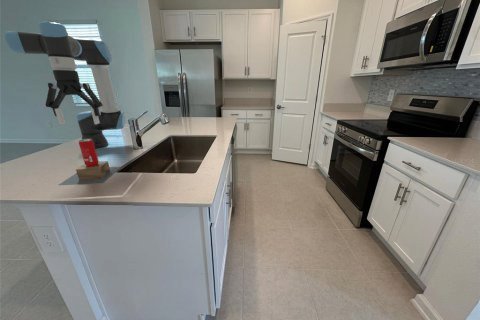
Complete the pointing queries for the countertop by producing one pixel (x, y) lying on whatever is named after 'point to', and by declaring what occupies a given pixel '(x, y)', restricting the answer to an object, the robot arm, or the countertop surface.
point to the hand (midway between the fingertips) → (80, 123)
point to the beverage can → (88, 152)
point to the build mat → (75, 179)
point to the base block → (93, 171)
